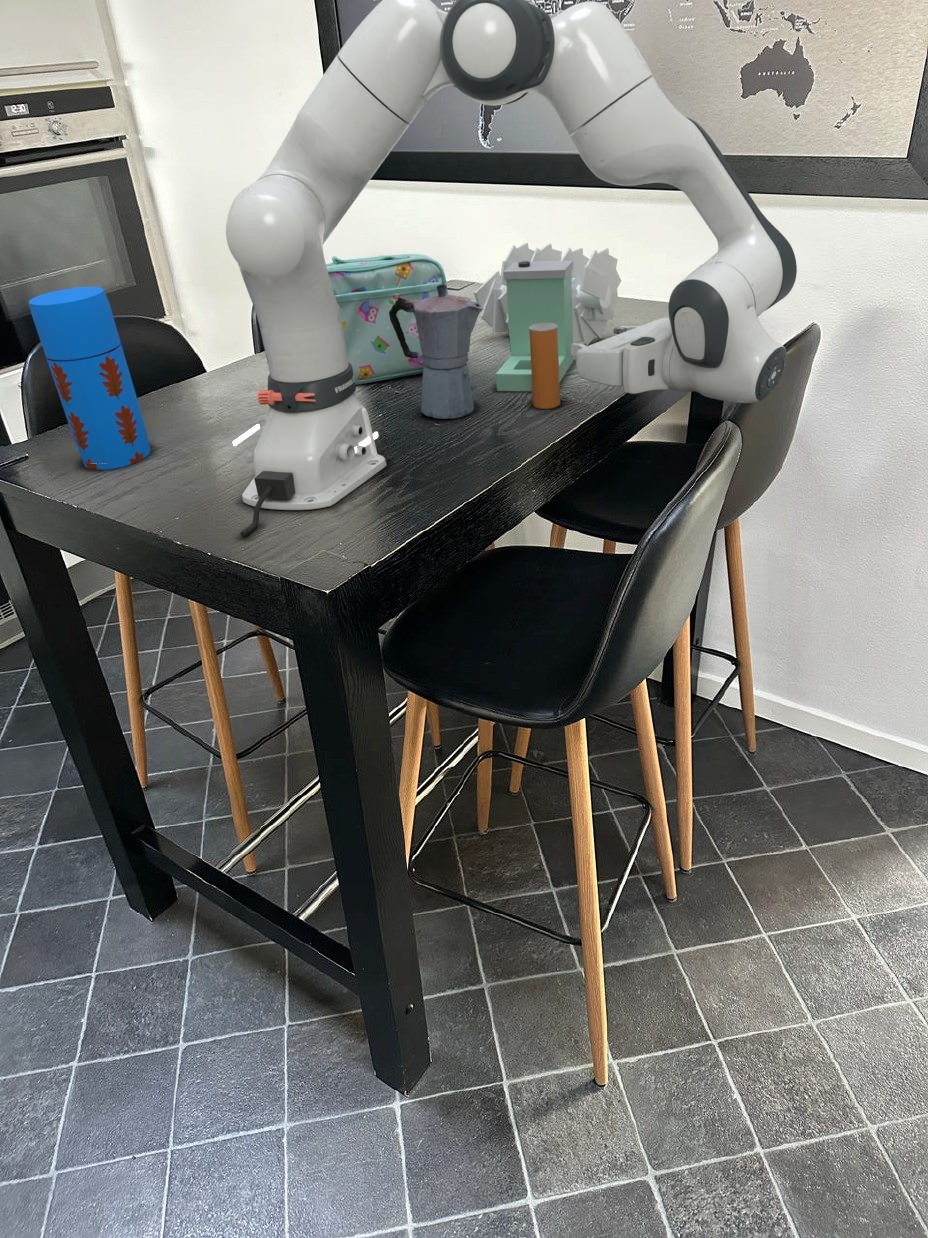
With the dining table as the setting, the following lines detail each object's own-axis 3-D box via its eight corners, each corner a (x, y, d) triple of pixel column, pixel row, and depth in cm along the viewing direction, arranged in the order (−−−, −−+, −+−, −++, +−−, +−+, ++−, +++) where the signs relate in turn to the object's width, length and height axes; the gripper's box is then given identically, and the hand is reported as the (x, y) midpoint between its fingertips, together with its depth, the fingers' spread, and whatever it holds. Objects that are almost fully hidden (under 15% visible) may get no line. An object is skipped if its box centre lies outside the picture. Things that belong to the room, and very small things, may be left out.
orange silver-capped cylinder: (557, 409, 146) (554, 330, 139) (530, 408, 147) (526, 330, 140) (562, 399, 149) (560, 322, 142) (536, 399, 150) (532, 322, 144)
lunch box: (314, 394, 163) (291, 269, 152) (310, 377, 172) (288, 258, 160) (459, 371, 166) (447, 248, 155) (448, 356, 175) (436, 238, 164)
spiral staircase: (517, 347, 190) (621, 355, 175) (464, 330, 176) (572, 337, 161) (532, 255, 186) (639, 255, 172) (479, 231, 173) (590, 229, 158)
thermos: (112, 474, 139) (58, 307, 126) (68, 464, 144) (11, 303, 131) (165, 448, 146) (120, 287, 133) (121, 440, 152) (74, 284, 138)
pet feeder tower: (567, 372, 160) (564, 265, 151) (509, 372, 164) (503, 267, 154) (575, 360, 166) (573, 256, 156) (519, 360, 169) (513, 258, 159)
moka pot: (486, 420, 144) (475, 290, 133) (392, 422, 147) (375, 294, 136) (496, 400, 152) (487, 275, 141) (407, 401, 155) (392, 279, 144)
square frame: (553, 391, 153) (553, 374, 151) (496, 391, 156) (495, 373, 154) (566, 372, 161) (565, 355, 159) (511, 372, 163) (510, 355, 162)
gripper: (718, 313, 129) (640, 301, 138) (624, 350, 118) (547, 335, 127) (715, 357, 132) (640, 343, 141) (624, 397, 122) (549, 379, 131)
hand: (595, 339), depth 134 cm, fingers open, 8 cm apart
